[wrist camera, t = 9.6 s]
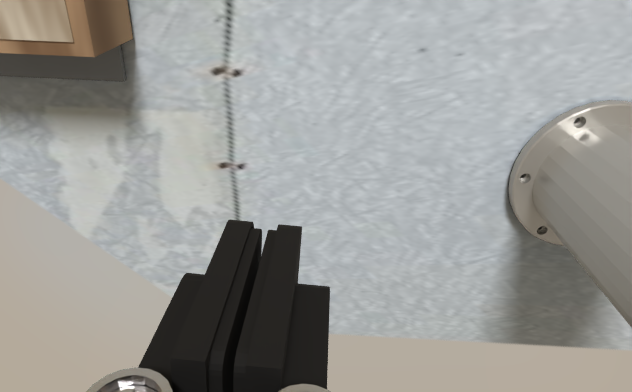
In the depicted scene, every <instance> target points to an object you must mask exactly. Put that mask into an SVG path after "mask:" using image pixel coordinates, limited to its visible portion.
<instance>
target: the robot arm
mask: <svg viewBox="0 0 632 392" xmlns="http://www.w3.org/2000/svg"><path fill="white" fill-rule="evenodd" d="M508 190H509V200H510V204H511V207H512V209H513V212H514V214H515V215H516V217H517V218H518V220H519V221H520V223H521V224H522V225H523V226H524V227H525V229H526V230H527V231H528V232H530V233H531V234H532V235H534V236H535V237H537V238H539V239H541V240H543V241H546V242H548V243H552V244H557V245H561V246H565V247H566V248H567V249H568V250H569V252H570V253H571V254H572V255H573V256H574V258H575V259H576V260H577V261H578V263H579V264H580V265H581V266H582V267H583V269H584V270H585V271H586V272H587V274H588V275H589V276H590V277H591V279H592V280H593V281H594V282H595V283H596V285H597V286H598V287H599V288H600V290H601V291H602V292H603V293H604V294H605V296H606V297H607V298H608V299H609V301H610V302H611V303H612V304H613V305H614V307H615V308H616V309H617V310H618V312H619V313H620V314H621V315H622V316H623V318H624V319H625V320H626V321H627V323H628V324H629V325H630V326H631V327H632V102H628V101H616V100H607V101H599V102H592V103H589V104H586V105H582V106H579V107H576V108H574V109H572V110H570V111H567V112H565V113H563V114H561V115H559V116H558V117H556V118H555V119H553V120H552V121H550V122H549V123H547V124H546V125H545V126H544V127H542V128H541V129H540V130H539V131H538V132H537V133H536V134H535V135H534V136H533V137H532V138H531V139H530V140H529V142H528V143H527V144H526V145H525V147H524V148H523V149H522V151H521V152H520V154H519V156H518V158H517V160H516V161H515V163H514V166H513V169H512V172H511V175H510V181H509V189H508ZM301 234H302V227H300V226H290V225H278V228H277V231H276V230H268V233H267V237H266V241H265V244H264V248H263V252H262V256H261V247H262V230H261V229H255V228H254V224H253V222H248V221H237V220H228V222H227V224H226V226H225V229H224V231H223V234H222V236H221V238H220V241H219V243H218V245H217V248H216V250H215V252H214V255H213V257H212V259H211V262H210V264H209V266H208V269H207V271H206V274H205V275H202V274H192V273H186V274H185V275H184V276H183V278H182V280H181V282H180V284H179V286H178V288H177V290H176V292H175V294H174V296H173V298H172V300H171V302H170V304H169V306H168V308H167V310H166V312H165V314H164V316H163V318H162V320H161V322H160V324H159V326H158V329H157V330H156V332H155V334H154V336H153V339H152V341H151V343H150V345H149V347H148V349H147V351H146V353H145V355H144V357H143V359H142V361H141V363H140V365H139V367H138V368H130V369H123V370H119V371H117V372H114V373H112V374H109V375H107V376H105V377H104V378H102V379H100V380H99V381H98V382H96V383H94V384H93V385H92V386H91V387H90V388H89V389H88V390H87V391H86V392H330V391H329V390H327V364H328V362H327V361H328V333H329V301H330V287H327V286H316V285H306V284H298V271H299V259H300V246H301Z"/></svg>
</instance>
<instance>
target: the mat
mask: <svg viewBox="0 0 632 392" xmlns="http://www.w3.org/2000/svg"><path fill="white" fill-rule="evenodd" d="M0 76H18V77H40V78H61V79H82V80H104V81H126V75H125V69H124V63H123V56H122V50H121V45H119V46H117V47H115V48H113V49H111V50H109V51H106V52H104V53H102V54H100V55H98V56H96V57H80V56H57V55H35V54H12V53H0Z"/></svg>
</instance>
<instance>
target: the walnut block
mask: <svg viewBox="0 0 632 392" xmlns="http://www.w3.org/2000/svg"><path fill="white" fill-rule="evenodd" d="M131 39H133V36H132V29H131V22H130V16H129V9H128V3H127V0H0V53H12V54H35V55H57V56H80V57H96V56H98V55H100V54H102V53H104V52H106V51H109V50H111V49H113V48H115V47H117V46H119V45H121V44H123V43H125V42H127V41H129V40H131Z"/></svg>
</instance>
